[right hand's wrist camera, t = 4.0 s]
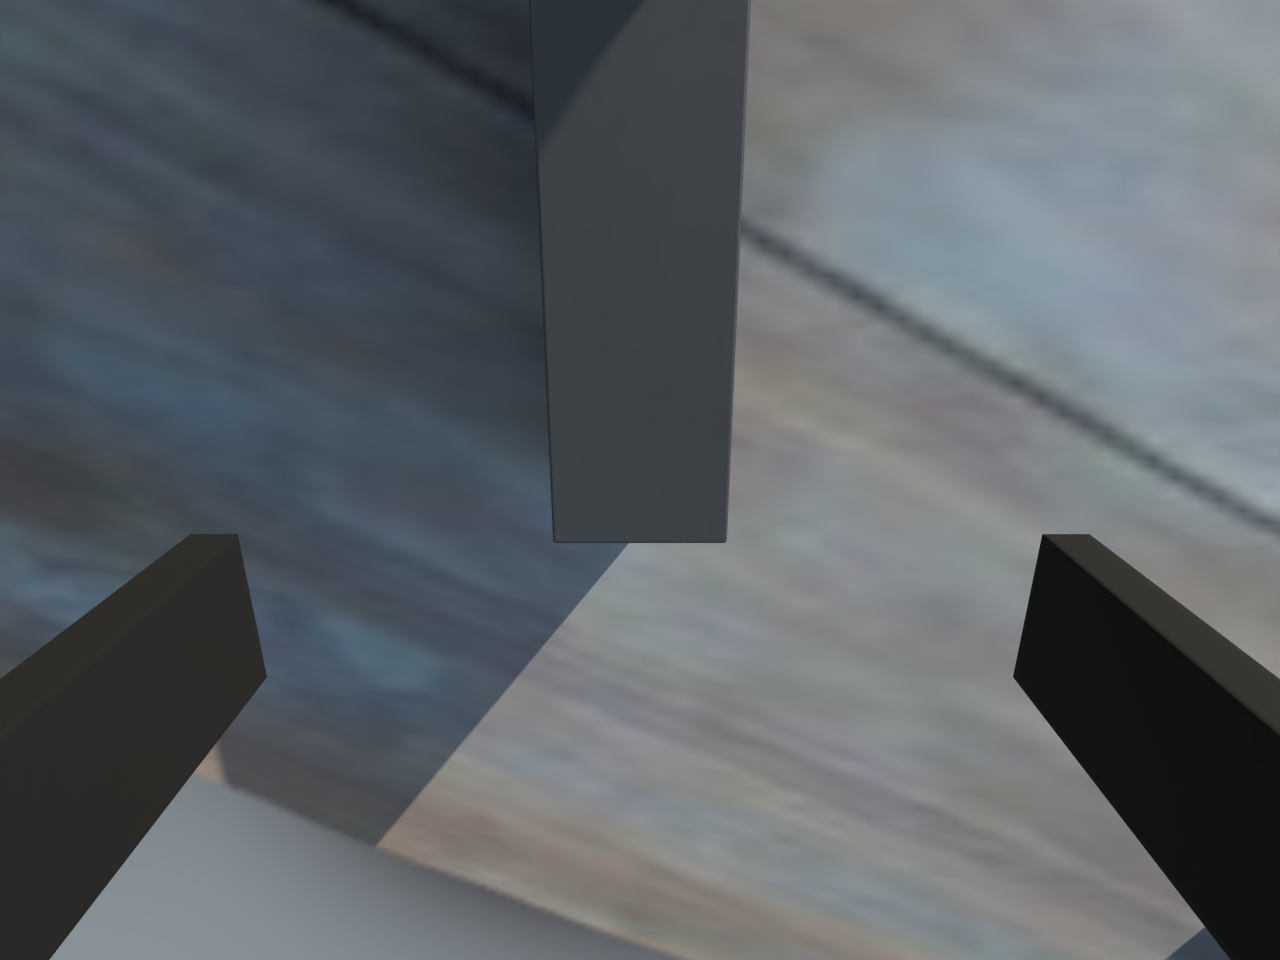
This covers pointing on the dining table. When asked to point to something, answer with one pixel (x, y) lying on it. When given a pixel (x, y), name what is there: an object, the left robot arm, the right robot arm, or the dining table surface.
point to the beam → (639, 260)
